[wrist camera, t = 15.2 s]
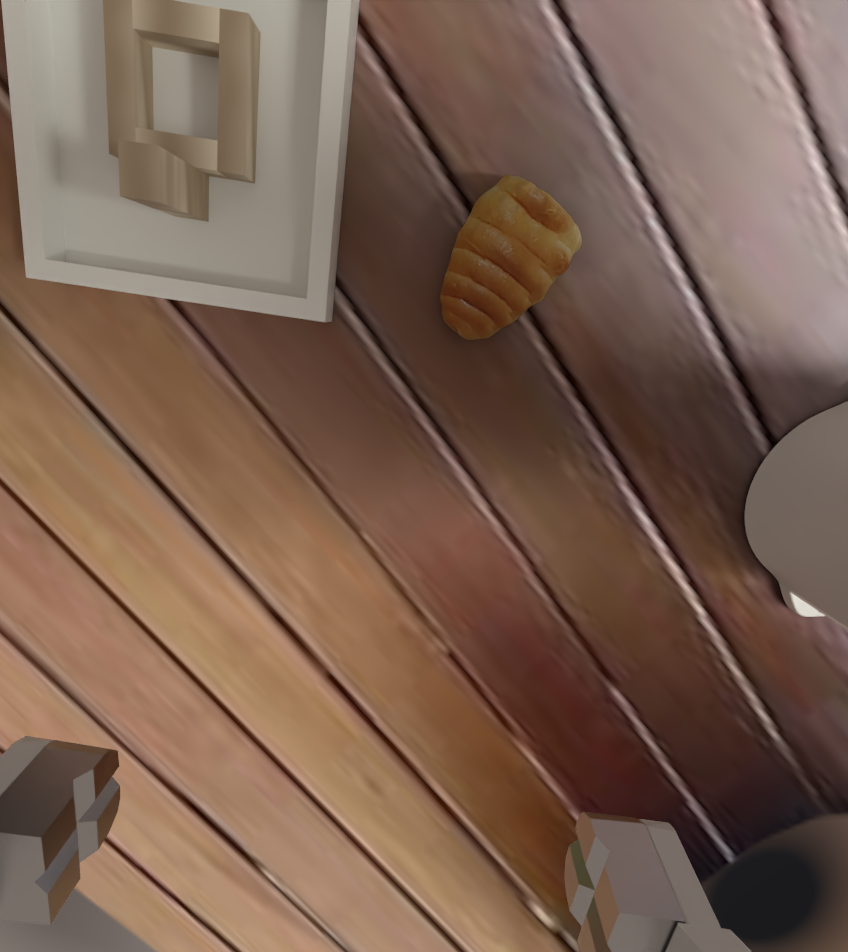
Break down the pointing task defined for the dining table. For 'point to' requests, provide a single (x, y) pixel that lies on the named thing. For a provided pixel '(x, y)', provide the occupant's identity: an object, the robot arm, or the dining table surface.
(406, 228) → the dining table surface
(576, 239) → the pastry
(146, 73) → the ring
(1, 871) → the robot arm
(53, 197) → the tray
